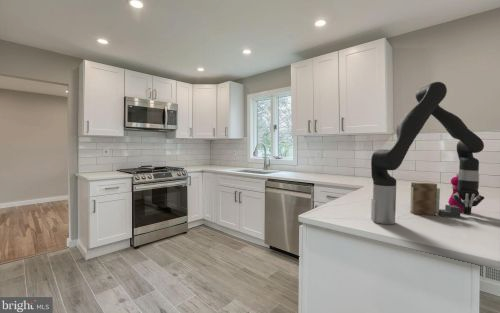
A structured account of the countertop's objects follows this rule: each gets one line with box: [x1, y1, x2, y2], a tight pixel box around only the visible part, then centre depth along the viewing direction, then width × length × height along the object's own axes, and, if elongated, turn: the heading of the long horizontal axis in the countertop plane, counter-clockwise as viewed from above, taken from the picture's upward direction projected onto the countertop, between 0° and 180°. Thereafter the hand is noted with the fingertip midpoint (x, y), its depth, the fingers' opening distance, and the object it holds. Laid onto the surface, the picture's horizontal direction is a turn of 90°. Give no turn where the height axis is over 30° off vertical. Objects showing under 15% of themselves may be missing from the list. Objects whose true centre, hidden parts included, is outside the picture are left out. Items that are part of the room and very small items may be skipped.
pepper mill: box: [447, 173, 463, 213], centre depth 128 cm, size 7×7×20 cm
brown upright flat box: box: [409, 181, 438, 216], centre depth 123 cm, size 10×4×16 cm, turn 75°
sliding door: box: [410, 187, 441, 213], centre depth 122 cm, size 12×1×12 cm, turn 75°
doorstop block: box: [436, 204, 461, 219], centre depth 120 cm, size 8×5×5 cm, turn 75°
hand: (466, 214), depth 118 cm, fingers closed
